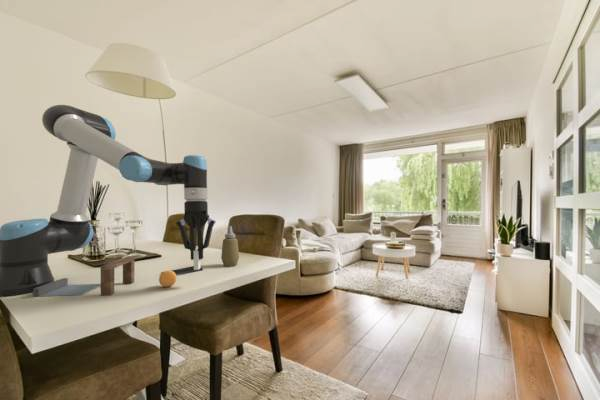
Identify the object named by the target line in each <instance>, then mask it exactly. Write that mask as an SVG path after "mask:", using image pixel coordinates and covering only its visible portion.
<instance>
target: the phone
mask: <svg viewBox="0 0 600 400" xmlns="http://www.w3.org/2000/svg"><path fill="white" fill-rule="evenodd" d="M203 270H204V268H203V267H200V269H199V270H194V265H193V266H188V267H184V268H183V267H182V268H177V269H171V270H170V271H173V272H174V273H175V274H176V276H181V275H182V276H183V275H186V274H187V275H188V274H192V273H197V272H200V271H203ZM163 272H164V271H162V272H160V275H161V274H162V273H163Z"/></svg>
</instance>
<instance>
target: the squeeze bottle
mask: <svg viewBox="0 0 600 400" xmlns="http://www.w3.org/2000/svg"><path fill="white" fill-rule="evenodd" d="M233 231H234V230H233V227H232V225H229V226H228V228H227V233H225V234H224V239H223V240H222V244H221V245H222V247H221V255H220V256H221V258H220V259H221V262H222V264H223V266H224V267H234V266H235V267H236V266H237V265H238V262H239V259H240V252H239V251H240V250H239V243H238V239H237V238H236V233H234V232H233Z"/></svg>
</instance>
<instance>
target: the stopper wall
mask: <svg viewBox="0 0 600 400" xmlns="http://www.w3.org/2000/svg"><path fill="white" fill-rule="evenodd" d="M68 282H69V279H68V278H66V277H65V278H60V279H57V280H54V282H51V283H48V284H45V285H42V286H40V287H37V288H34V289H33V292H32V298H36V297H37V298H39V297H40V296H41V295H44V294H46V293H49V292H52V291H54V290H57V289H59V288H62V287H64V286H67V285H69V283H68Z"/></svg>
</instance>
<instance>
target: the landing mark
mask: <svg viewBox="0 0 600 400" xmlns="http://www.w3.org/2000/svg"><path fill="white" fill-rule="evenodd" d="M98 288H101V283H83V284H81V283H80V284H68V285H67V286H64V287H62V288H59V289H57V290H54V291H52V292H49V293H46V294H44V295H41V296H39V297H41V298H42V297H63V296H67V297H69V296H82V295H84V294H87V293H89V292H90V291H93V290H96V289H98Z"/></svg>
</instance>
